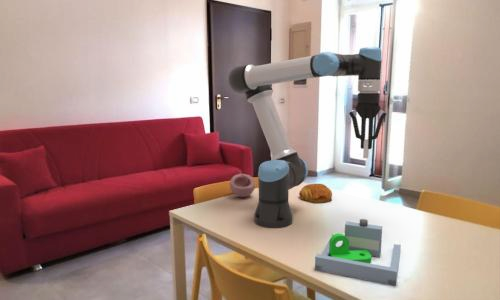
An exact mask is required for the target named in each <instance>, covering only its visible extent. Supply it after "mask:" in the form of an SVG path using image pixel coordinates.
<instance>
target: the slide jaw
mask: <svg viewBox="0 0 500 300" xmlns="http://www.w3.org/2000/svg"><path fill="white" fill-rule="evenodd" d="M344 235H345V237H346V238H347V239H348V241H349V251H355V250H367V251H368V252H369V253H370V254H371V257H378V258H381V254H382V241H383V240H382V239H383V225H376V224H369V221H368V219H366V218H363V219H362V218H361V219H359V222H354V221H345V224H344Z"/></svg>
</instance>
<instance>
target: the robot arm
mask: <svg viewBox="0 0 500 300" xmlns="http://www.w3.org/2000/svg"><path fill="white" fill-rule="evenodd" d="M382 63H383V60H382V49H381V48H380V47H378V46H368V47H361V48H360V49H359V51H358V53H355V54H340V53H335V52H330V51H324V52H323V51H322V52H320V53H318V54H314V55H309V56H308V55H307V56H304V57H299V58H293V59H288V60H282V61H277V62H272V63H271V62H270V63H266V64H261V65H254V64H252V63H251V64H239V65H237V66H234V67H233V68H231V70H230V71H229V72H228V75H227V84H228V86H229V88H230V89H231V91H233V92H235V93H236V94H239V95H245V98H246V100H247V103H249V104H252V106H253V110H254V112H255V113H256V117H257V120H258V121H259V124H260V128H261V130H262V132H263V135H264V137H265V139H266V142H267V145H268V148H269V150H270V153H271V156H272V157H271V160H265V161H263V162H262V163H260V165H259V167H258V173H257V178H258V202H257V206H256V209H255V212H254V217H253V219H254V223H255V224H256V225H258V226H261V227H264V228H265V227H266V228H273V229H274V228H283V227H284V228H285V227H287V226H290V225H292V224H293V222H294V221H293V220H294V219H293V218H294V215H293V212H292V209H291V206H290V202H289V191H290V190H291V189H293V188H295V187H297V186H300V185H301V184H302V183H304V182H305V181H306V179H307V177H308V176H309V167H308V164H307V162H305V159H304V158H303V159H302V158H301V157H300V156H299V154H298V152H297V150H295V149H293V148H292V146H291V144H290V143H291V142H290V140H289V139H288V136H287V133H286V131H285V128H284V125H283V123H282V121H281V118H280V116H279V113H278V110H277V107H276V106H275V102H274V100H273V97H272V95H273V93H274V90H273V85H275V84H281V83H287V82H293V81H301V80H307V79H314V78H320V77H321V78H322V77H328V76H329V77H349V76H350V77H351V76H356V77H357V78H358V81H357V91H358V94H357V101H356V102H357V103H356V107H355V109H354V110H352V111H350V112H349V113H348V115H349V116H350V118H351V121H352V124H353V129H354V135H355V139H359V140H360V149H363V154H362V155H363V157H362V159H368V158H369V150H372V148H373V140H377V139H378V137H379V134H380V130H381V127H382V124H383V122H384V118H385V117H386V116H387V112H386V111H384V110H382V108H381V105H380V101H381V100H380V97H381V94H380V93H379V92H380V91H381V83H382V81H381V75H382V74H381V73H382ZM357 115H359V117H360V118H361V121H360V122H361V125H360V128H359V123H358V119H357ZM377 115H378V116H379V119H378V122H377V125H376V128H375V131H374V118H375V117H376V116H377ZM367 119H368V132H367V133H368V135H367V136H368V137H367V139H366V126H367V124H366V123H367ZM373 133H374V134H373Z"/></svg>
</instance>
